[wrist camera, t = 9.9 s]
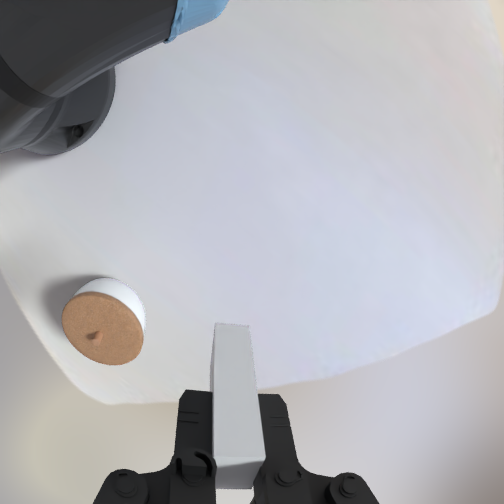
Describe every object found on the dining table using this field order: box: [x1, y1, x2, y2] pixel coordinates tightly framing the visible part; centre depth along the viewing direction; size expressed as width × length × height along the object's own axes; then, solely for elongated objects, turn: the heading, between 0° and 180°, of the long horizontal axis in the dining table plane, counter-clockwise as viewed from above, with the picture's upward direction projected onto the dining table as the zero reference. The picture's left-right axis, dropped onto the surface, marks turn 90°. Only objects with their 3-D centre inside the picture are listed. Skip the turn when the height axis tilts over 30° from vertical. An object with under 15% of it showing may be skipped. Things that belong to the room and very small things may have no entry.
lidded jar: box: [62, 278, 146, 365], centre depth 36 cm, size 11×11×9 cm
